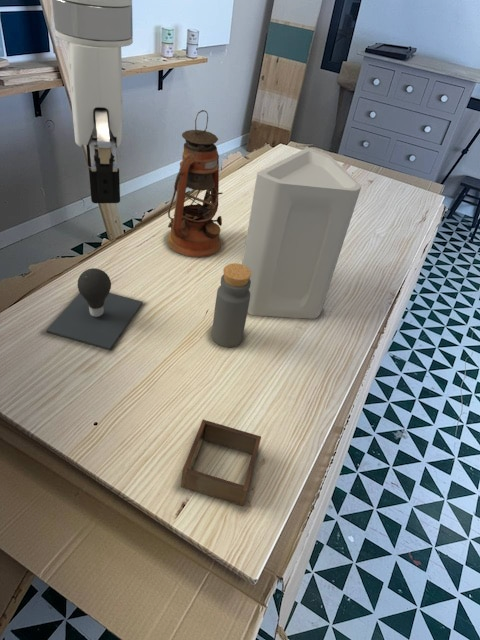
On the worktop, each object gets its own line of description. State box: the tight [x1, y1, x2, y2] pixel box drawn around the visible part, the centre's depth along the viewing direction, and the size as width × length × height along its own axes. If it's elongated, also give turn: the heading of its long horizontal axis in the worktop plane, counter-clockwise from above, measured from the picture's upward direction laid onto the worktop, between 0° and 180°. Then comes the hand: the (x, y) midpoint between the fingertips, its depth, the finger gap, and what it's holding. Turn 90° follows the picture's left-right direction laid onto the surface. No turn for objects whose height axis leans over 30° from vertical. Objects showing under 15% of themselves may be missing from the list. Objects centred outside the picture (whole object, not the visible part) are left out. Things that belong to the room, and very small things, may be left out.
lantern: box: [166, 109, 223, 258], centre depth 101 cm, size 17×13×30 cm
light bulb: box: [77, 267, 112, 317], centre depth 83 cm, size 6×6×10 cm
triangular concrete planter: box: [241, 147, 363, 320], centre depth 89 cm, size 19×15×28 cm
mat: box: [45, 292, 144, 351], centre depth 86 cm, size 14×12×1 cm
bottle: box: [211, 262, 251, 348], centre depth 82 cm, size 6×6×15 cm
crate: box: [180, 419, 262, 507], centre depth 65 cm, size 9×9×4 cm
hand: (103, 183), depth 57 cm, fingers open, 9 cm apart
